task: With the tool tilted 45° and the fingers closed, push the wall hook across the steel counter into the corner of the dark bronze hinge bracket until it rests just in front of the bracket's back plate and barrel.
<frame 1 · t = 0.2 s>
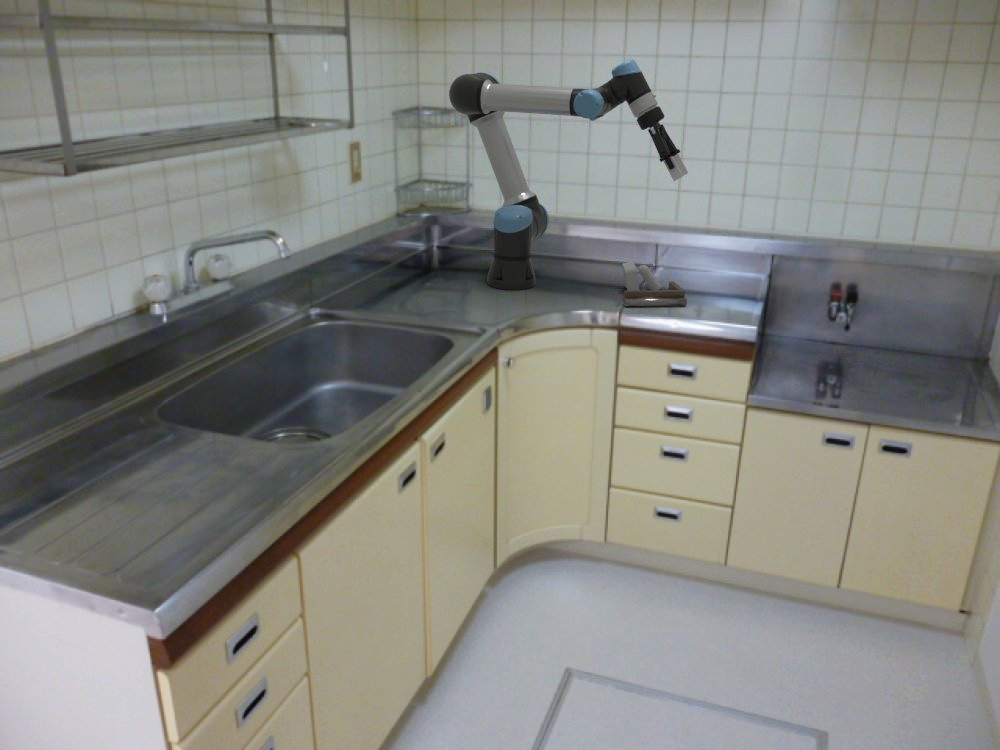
hand: (681, 177, 244), 35 cm above the table, tool tilted 35°, fingers open, 13 cm apart
hinge bracket: (653, 304, 245), on the table
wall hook: (640, 292, 257), on the table
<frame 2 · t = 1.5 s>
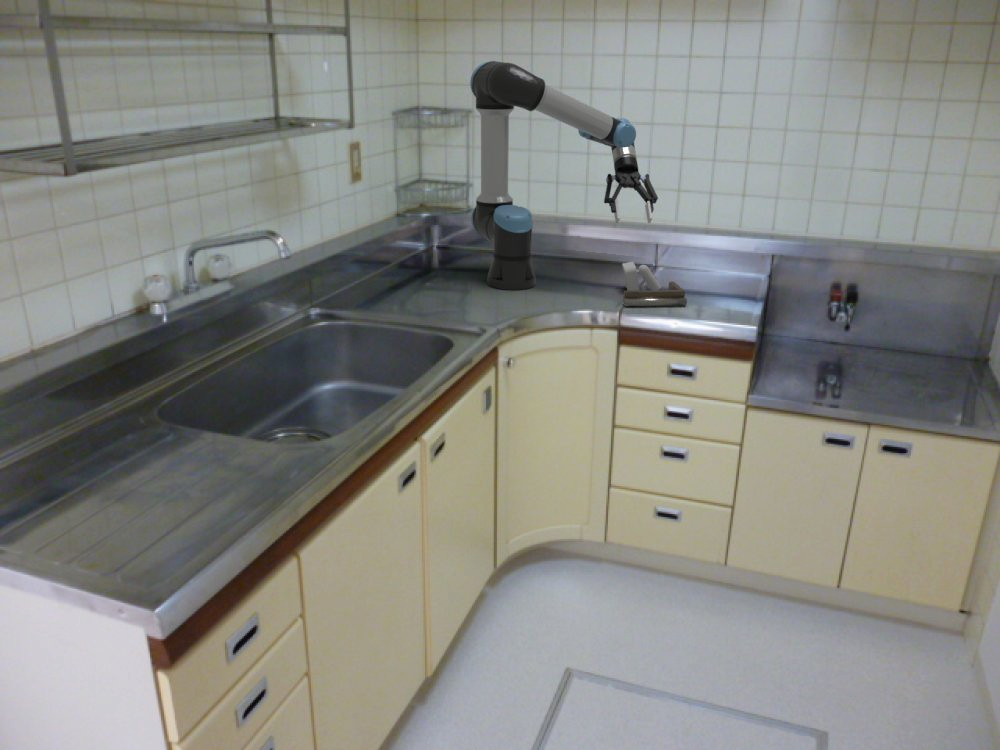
hand: (634, 220, 262), 19 cm above the table, tool tilted 45°, fingers open, 10 cm apart
nothing on the table moved.
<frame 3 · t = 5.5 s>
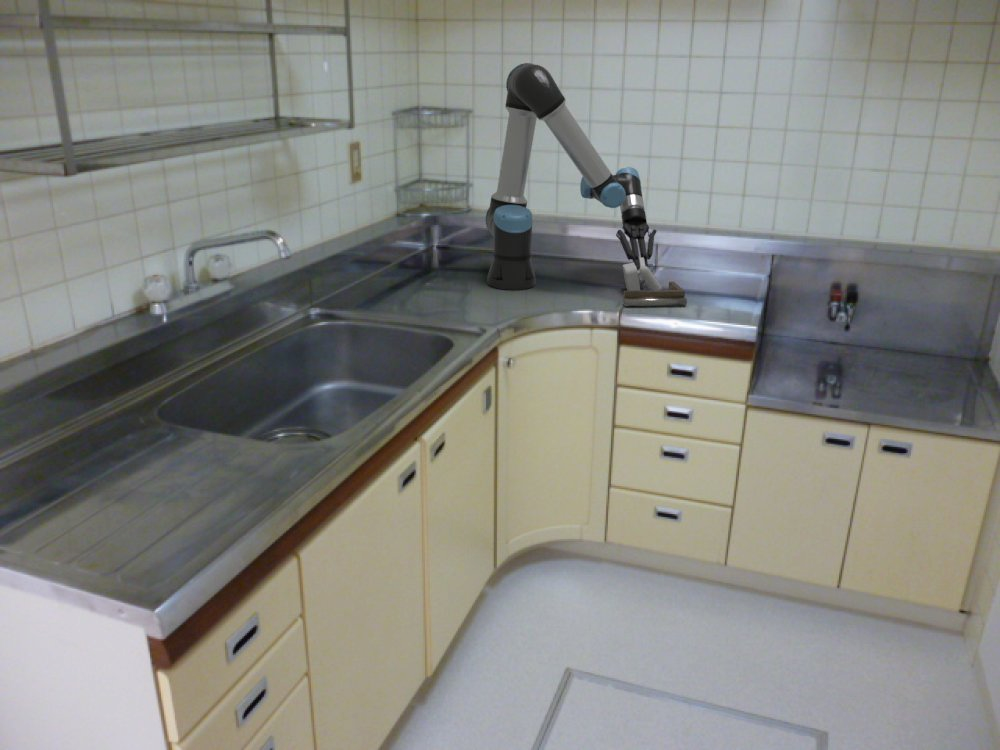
hand: (643, 278, 257), 4 cm above the table, tool tilted 45°, fingers closed
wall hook: (641, 293, 256), on the table, touching gripper
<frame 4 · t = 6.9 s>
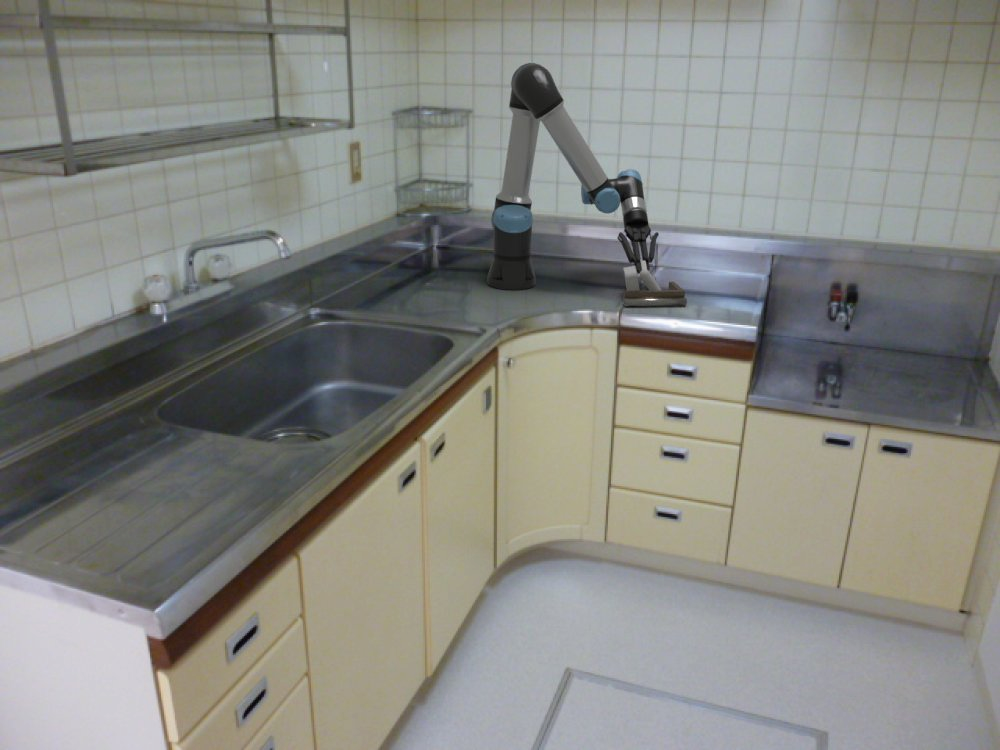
hand: (644, 281, 252), 4 cm above the table, tool tilted 45°, fingers closed
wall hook: (641, 297, 251), on the table, touching gripper
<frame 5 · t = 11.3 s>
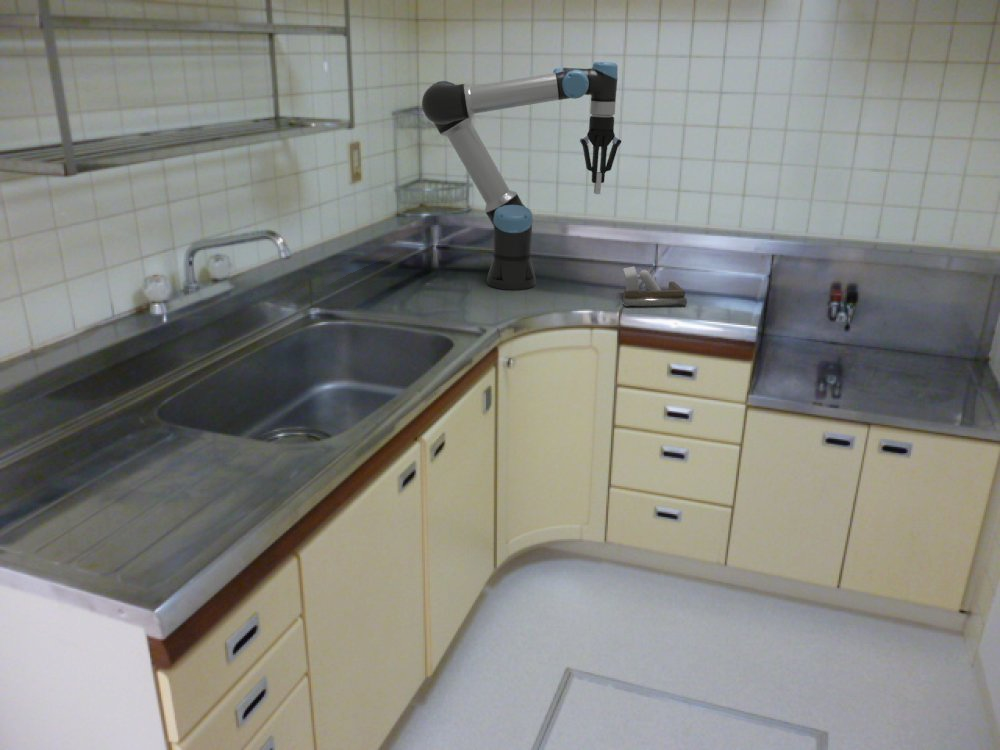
hand: (597, 193, 264), 26 cm above the table, tool pointing down, fingers closed
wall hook: (641, 297, 251), on the table
at the end: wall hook inside the target area (1.2 cm from its centre), on the table; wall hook moved 6.0 cm from its start; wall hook tilted 0° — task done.
